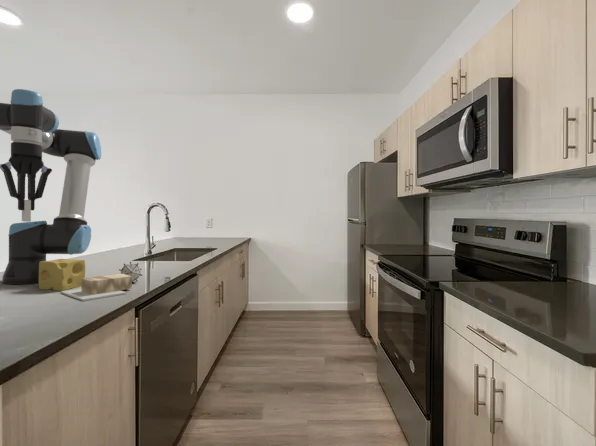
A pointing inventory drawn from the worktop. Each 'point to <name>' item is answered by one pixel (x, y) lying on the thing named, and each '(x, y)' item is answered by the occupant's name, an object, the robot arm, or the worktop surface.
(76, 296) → the rubber mat
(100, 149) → the robot arm
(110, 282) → the maple block
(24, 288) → the worktop surface
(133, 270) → the game die
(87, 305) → the worktop surface
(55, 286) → the cheese
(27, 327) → the worktop surface
